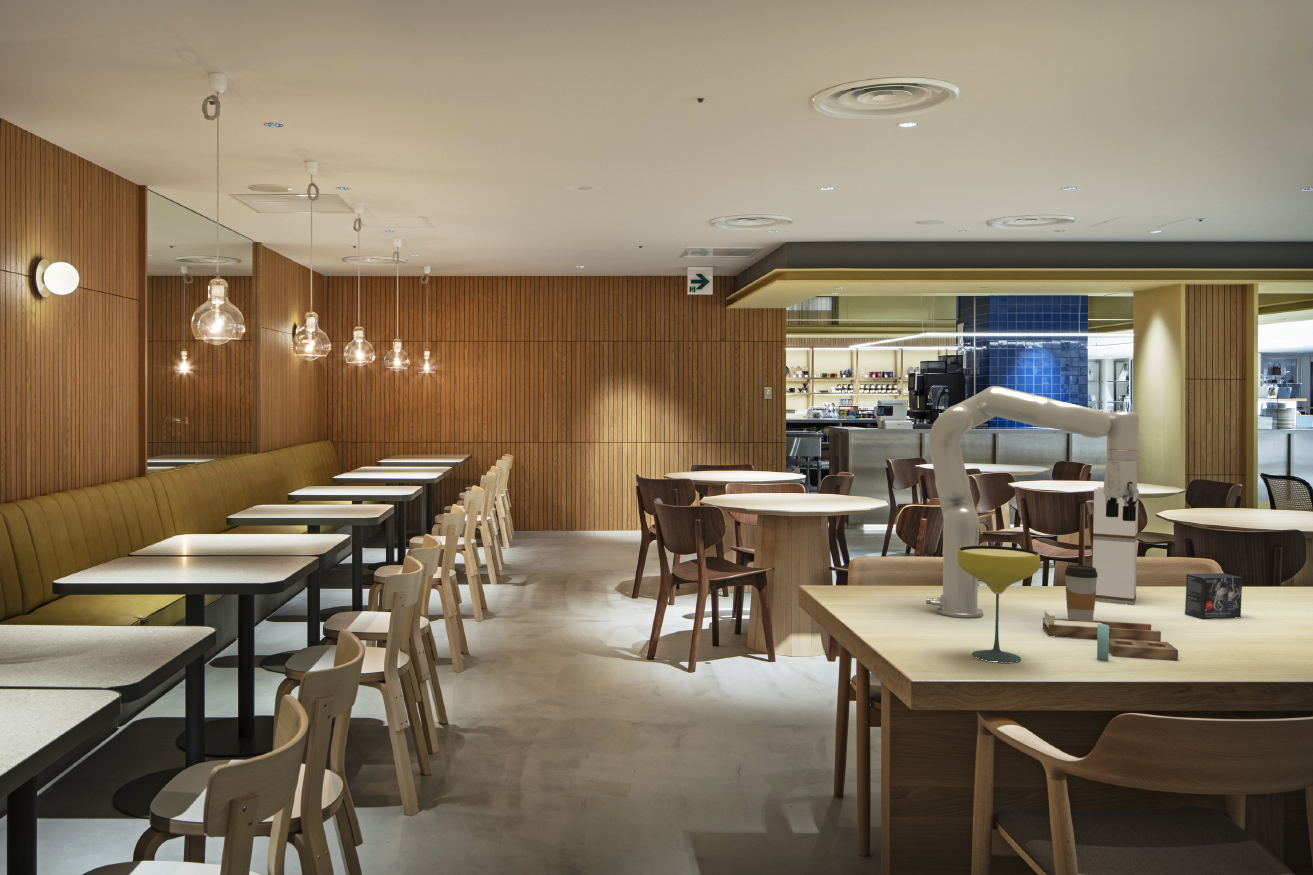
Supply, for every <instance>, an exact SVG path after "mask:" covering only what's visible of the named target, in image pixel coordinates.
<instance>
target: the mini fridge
mask: <svg viewBox="0 0 1313 875" xmlns="http://www.w3.org/2000/svg"><path fill="white" fill-rule="evenodd" d="M1105 500H1106V496H1105V495H1104V486H1098V487H1097V488H1094V489H1093V524H1092V525H1093V529H1092V531H1093V533H1092V567H1094V568H1096V572H1097V576H1098V577H1097V582H1096V596H1095V602H1097V601H1098V602H1099V603H1108V604H1118V605H1125V604H1127V605H1128V606H1134V605H1135V602H1136V601H1137V566H1138V565H1137V561H1138V557H1137V556H1138V531H1139V530H1138V529H1139V528H1138V525H1139V524H1138V523H1139V522H1138V521H1139V500H1138V501H1137V506H1136V520H1135V521H1123V506H1125V505H1124V502H1123V499H1122V497H1121V498H1119V499H1118V501H1117V503H1119V510H1118V517H1106V501H1105ZM1128 500H1129V499H1127V501H1128Z"/></svg>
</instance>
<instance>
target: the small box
mask: <svg viewBox="0 0 1313 875" xmlns="http://www.w3.org/2000/svg"><path fill="white" fill-rule="evenodd" d="M1185 581H1186V585H1185V587H1186V588H1185V606H1184V607H1185V608H1184V615H1187V616H1190V615H1191V616H1192V617H1193V618H1194V617H1195V618H1198V619H1201V620H1210V619H1209V618H1222V619H1236V618H1235V617H1242V616H1241V614H1242V595H1243V594H1242V593H1243V592H1242V591H1243V577H1242V576H1237V575H1233V574H1230V573H1229V574H1228V573H1224V572H1223V573H1222V572H1220V573H1219V572H1218V573H1217V572H1216V573H1214V572H1213V573H1211V572H1210V573H1186V580H1185ZM1191 616H1190V617H1191Z"/></svg>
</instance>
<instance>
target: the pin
mask: <svg viewBox="0 0 1313 875" xmlns="http://www.w3.org/2000/svg"><path fill="white" fill-rule="evenodd" d="M1109 656H1110V653H1109V625H1105V624H1098V633H1097V642H1096V659H1097V660H1098V661H1103V662H1107V661H1109Z"/></svg>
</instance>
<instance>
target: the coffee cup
mask: <svg viewBox="0 0 1313 875" xmlns="http://www.w3.org/2000/svg"><path fill="white" fill-rule="evenodd" d="M1064 571H1065V572H1064V575H1065V597H1066V612H1067V614H1066V615H1067V619H1075V620H1091V621H1094V614H1095V613H1094V612H1095V604H1096V601H1095V596H1096V582H1097V577H1098V576H1097V572H1096V568H1094V567H1093V566H1088V565H1078V564H1075V565H1074V564H1073V565H1072V564H1071V565H1066V569H1065V570H1064Z"/></svg>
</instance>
